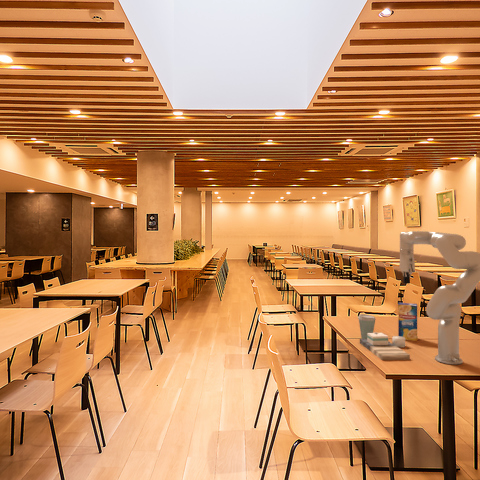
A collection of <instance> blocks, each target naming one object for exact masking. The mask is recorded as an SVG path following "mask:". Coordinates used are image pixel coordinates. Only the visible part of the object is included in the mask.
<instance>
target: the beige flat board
mask: <svg viewBox="0 0 480 480" xmlns="http://www.w3.org/2000/svg"><path fill="white" fill-rule="evenodd" d="M359 344H360V345H362V346H363V348H366V349H367V350H368V351H369V352H371V354H374V356H376V357H377V358H379V359H380V360H381V361H399V360H400V361H402V360H403V361H405V360H406V361H407V360H408V361H409V360H411V355H410V354H409V353H407V352H406V351H404V350H403V349H402V348H400V347H397V346H395V345H393V344H392V343H391V342H390V341H389V340H388V345H372V344H370V343H369V342H367V339H362V338H359Z"/></svg>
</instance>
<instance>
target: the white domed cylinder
mask: <svg viewBox="0 0 480 480" xmlns="http://www.w3.org/2000/svg"><path fill="white" fill-rule="evenodd" d="M391 341H392V344H393V345H395V346H397V347H398V348H400V349H402V348H406V340H405V337H402V336H398V335H394V336H392V339H391Z"/></svg>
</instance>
